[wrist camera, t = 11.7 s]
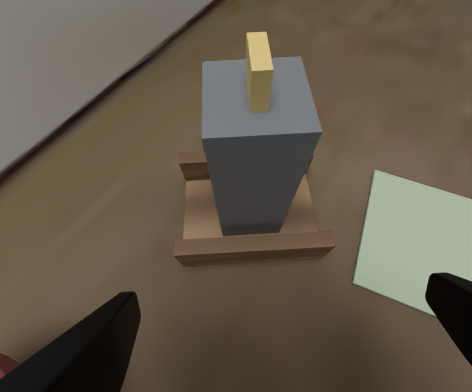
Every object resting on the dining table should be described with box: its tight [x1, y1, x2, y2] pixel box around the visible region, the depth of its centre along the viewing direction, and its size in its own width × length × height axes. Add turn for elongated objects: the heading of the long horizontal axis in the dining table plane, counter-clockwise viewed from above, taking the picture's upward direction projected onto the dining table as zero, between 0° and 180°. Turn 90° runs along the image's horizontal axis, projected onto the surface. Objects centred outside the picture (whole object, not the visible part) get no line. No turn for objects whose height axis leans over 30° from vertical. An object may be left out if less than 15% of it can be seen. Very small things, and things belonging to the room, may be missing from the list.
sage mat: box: [352, 170, 472, 317], centre depth 22 cm, size 12×9×1 cm
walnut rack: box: [173, 151, 336, 266], centre depth 22 cm, size 9×12×4 cm
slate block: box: [202, 32, 322, 236], centre depth 16 cm, size 5×5×15 cm
